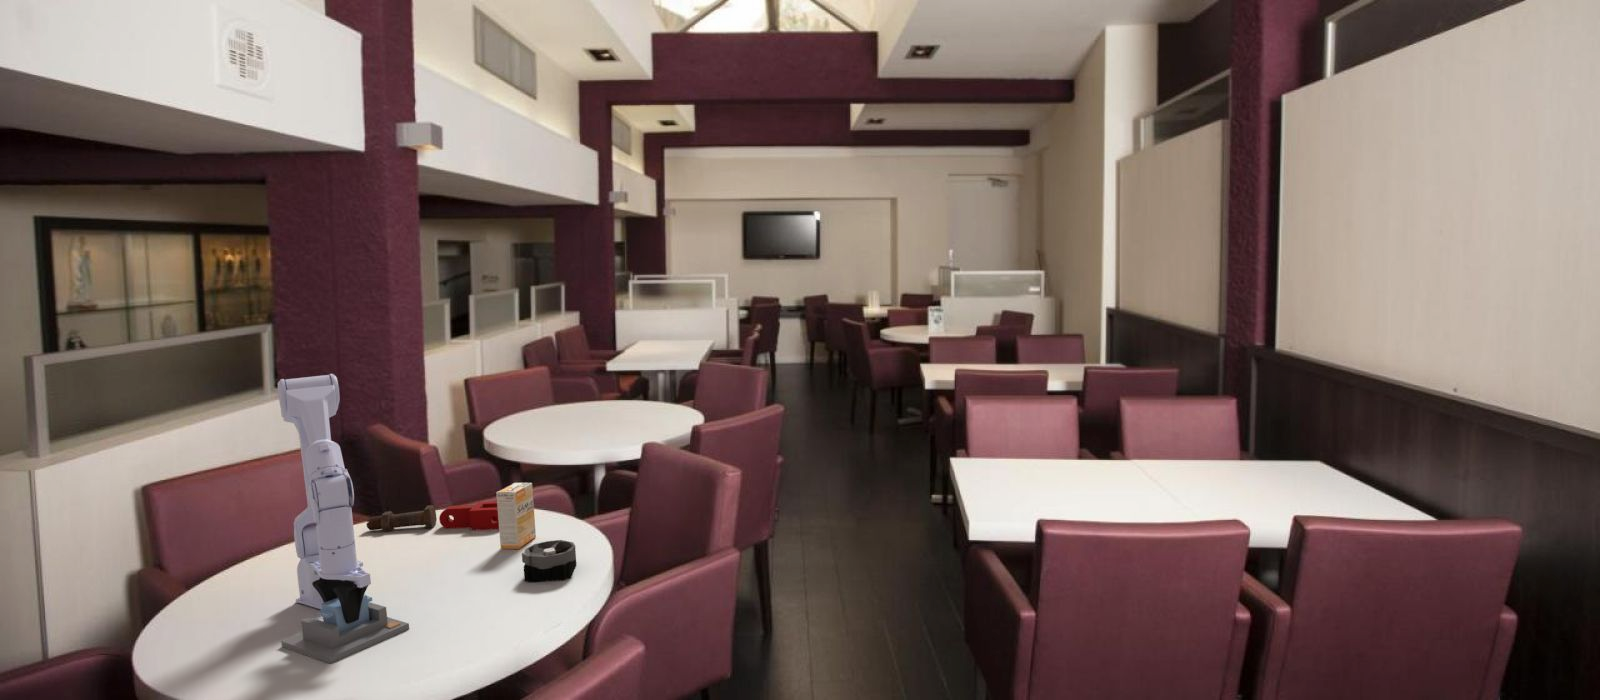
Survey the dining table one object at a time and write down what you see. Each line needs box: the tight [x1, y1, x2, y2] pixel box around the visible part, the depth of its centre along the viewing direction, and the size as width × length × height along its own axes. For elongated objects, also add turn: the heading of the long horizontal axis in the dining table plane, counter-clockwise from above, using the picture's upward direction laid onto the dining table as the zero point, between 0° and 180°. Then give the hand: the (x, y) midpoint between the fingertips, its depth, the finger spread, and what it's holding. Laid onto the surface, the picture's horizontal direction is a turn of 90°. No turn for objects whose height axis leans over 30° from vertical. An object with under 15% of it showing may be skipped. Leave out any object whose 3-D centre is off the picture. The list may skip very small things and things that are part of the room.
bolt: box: [365, 504, 437, 533], centre depth 224 cm, size 6×5×15 cm
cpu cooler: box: [521, 539, 577, 583], centre depth 191 cm, size 10×6×10 cm
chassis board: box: [280, 601, 410, 664], centre depth 163 cm, size 14×15×4 cm
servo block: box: [316, 594, 373, 633], centre depth 163 cm, size 4×8×6 cm, turn 149°
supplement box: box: [495, 482, 537, 550], centre depth 210 cm, size 8×5×13 cm, turn 168°
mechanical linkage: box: [439, 500, 499, 531], centre depth 225 cm, size 16×7×5 cm, turn 92°
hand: (344, 619), depth 163 cm, fingers closed on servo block, 4 cm apart
